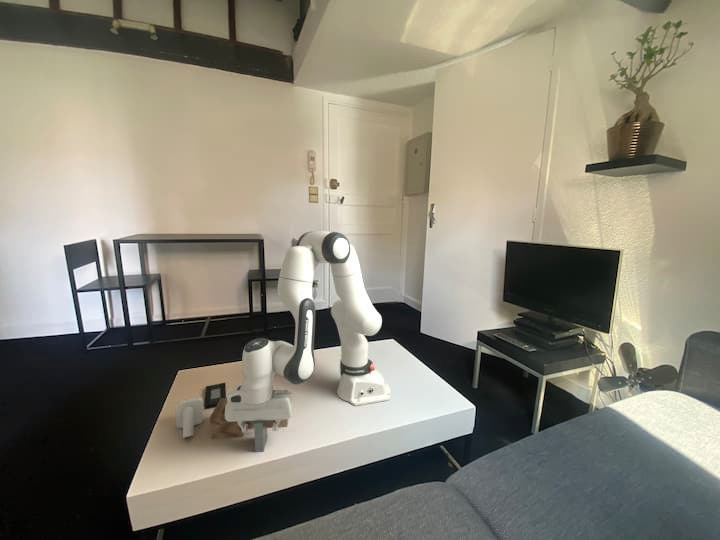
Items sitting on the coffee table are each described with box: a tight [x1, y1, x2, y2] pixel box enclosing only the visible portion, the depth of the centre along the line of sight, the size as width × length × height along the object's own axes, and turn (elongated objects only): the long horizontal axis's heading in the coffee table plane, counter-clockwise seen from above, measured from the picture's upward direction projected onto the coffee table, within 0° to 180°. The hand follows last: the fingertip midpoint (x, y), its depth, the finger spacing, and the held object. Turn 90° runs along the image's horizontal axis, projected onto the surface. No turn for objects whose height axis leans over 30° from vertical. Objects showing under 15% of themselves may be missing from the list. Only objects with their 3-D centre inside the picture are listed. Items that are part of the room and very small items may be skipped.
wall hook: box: [175, 396, 205, 439], centre depth 102 cm, size 8×10×10 cm
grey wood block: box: [253, 420, 269, 453], centre depth 95 cm, size 2×6×10 cm, turn 5°
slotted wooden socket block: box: [209, 397, 289, 439], centre depth 104 cm, size 24×10×8 cm, turn 95°
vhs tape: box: [204, 382, 227, 410], centre depth 121 cm, size 8×14×2 cm, turn 25°
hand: (260, 430), depth 95 cm, fingers open, 8 cm apart
